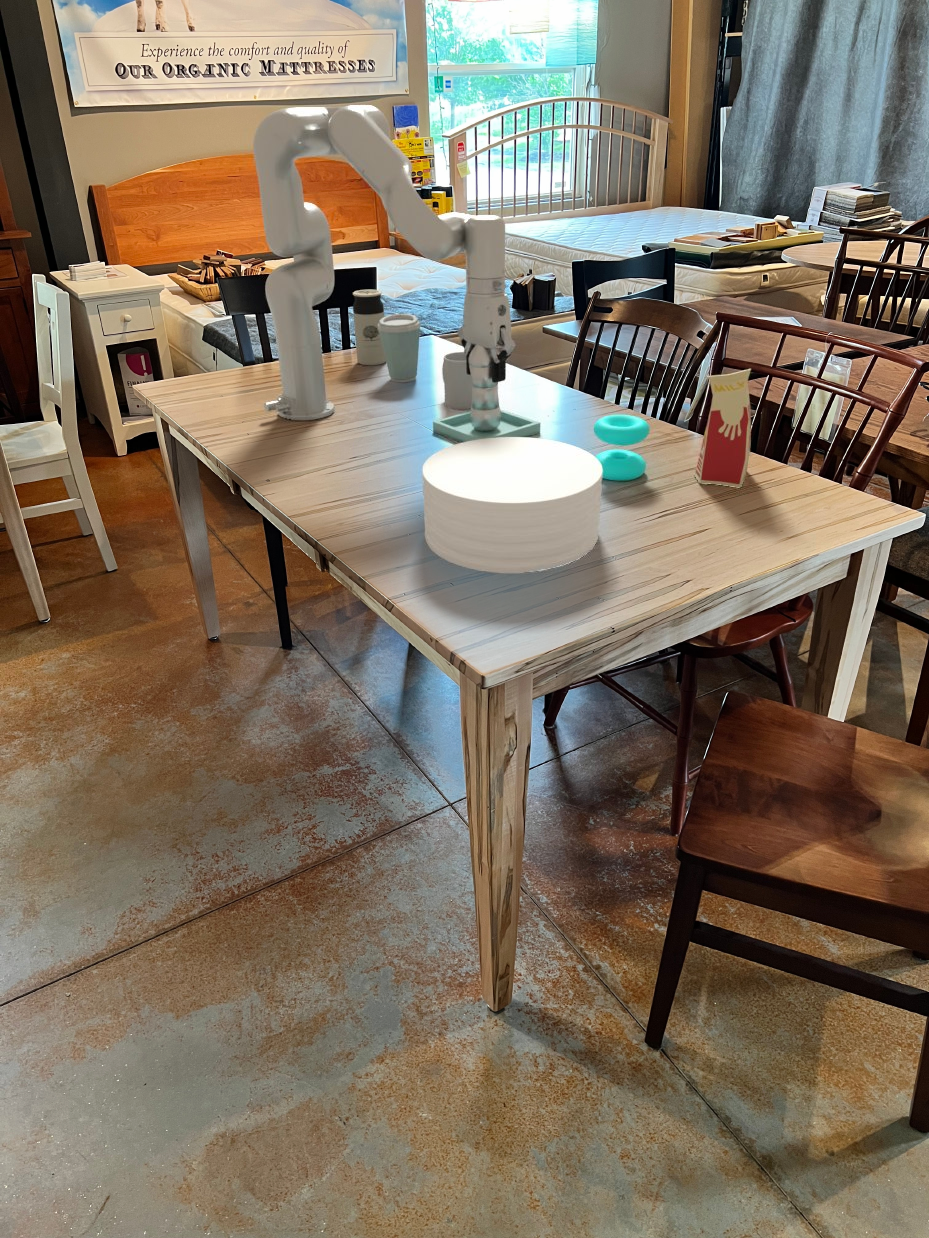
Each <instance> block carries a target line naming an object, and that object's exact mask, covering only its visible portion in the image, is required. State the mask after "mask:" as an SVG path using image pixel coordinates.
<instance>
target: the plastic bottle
mask: <svg viewBox="0 0 929 1238" xmlns="http://www.w3.org/2000/svg"><path fill="white" fill-rule="evenodd" d="M476 343H477V342H476ZM497 352H498V355H499V354H500V352H499V351H498V350H497ZM492 362H494V359H493V356H492V352H491V349H489V348H485V347H482V346H479V345H475V347H474V348H473V350H472V351H471V353H470V355H469V367H470V373H471V381H472V407H471V409H470V411H471V412H470V421H471V425H472V426H473V428H474V429H476V430H481V431H488V430H494V429H496V428H498V426H499V425H500V422H501V411H500V409H501V408H500V401H499V400H500V399H499V398H500V397H499V382H496V383H494V382H492Z"/></svg>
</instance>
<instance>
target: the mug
mask: <svg viewBox="0 0 929 1238" xmlns="http://www.w3.org/2000/svg"><path fill="white" fill-rule="evenodd" d="M441 372H442V381H443V383H444V384H443V385H444V386H443V387H444V405H445V407H446V408H448V409H451V410H457V411H469V410H470V411H471V407H472V381H471V375H468V374H467V371H466V354H465V353H464V351H457V352H451V353H447V354H445V355H444V356H443V362H442V371H441Z"/></svg>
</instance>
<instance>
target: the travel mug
mask: <svg viewBox="0 0 929 1238" xmlns="http://www.w3.org/2000/svg"><path fill="white" fill-rule="evenodd" d="M382 294H383V293H382V291H381V290H379V289H360V290H355V291H354V292H352V295H353V296H354V303H353V305H352V309H353V310H352V311H353V323H354V334H355V335H354V337H355V348H356V350H355V351H356V358H357V359H356V361H357V363H358V364H360V365H362V366H379V365H383V364H385V363H387V362H386V358H385V354H384V350H383V346H382V341H381V337H380V333H379V330H378V329H377V328H378V324H379V321H380V320H381V319H382V318H383V317H385V310H384V309H385V307H384V303H383V301H382V300H381V299H382V298H381V297H382Z"/></svg>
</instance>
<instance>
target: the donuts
mask: <svg viewBox="0 0 929 1238" xmlns="http://www.w3.org/2000/svg"><path fill="white" fill-rule="evenodd" d="M593 433H594V436H596V437H597V439H599V440H600V441H602V442H604V443H606V444H609V445H613V446H632V445H636V444H639V443H640V442H642V441H644V440H645V439H646V438H647V437H648V436H649V433H650V425H649V424H648V422H647V421H646V420H644V418H641V417H639V416H635V415H630V414H629V415H628V414H611V415H610V414H609V415H605V416H602V417H600V418H599V419H597V421H596V422H595V423H594V426H593ZM595 457H596V458H597V459H598V460H599V462H600V463H601V465H602V468H603V476H602V479H605V480H609V481H616V482H617V481H618V482H619V481H620V482H621V481H623V482H624V481H631V480H635V479H639V478H640V477H641V476H642V475H644V473H645V471H646V467H647V463H646V461H645V459H644V458H643V457H642V456H641V455H640V454H638V453H636V452H634V451H632V450H627V449H609V450H604V451H602V452H599V453H598V454H596V455H595Z"/></svg>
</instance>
